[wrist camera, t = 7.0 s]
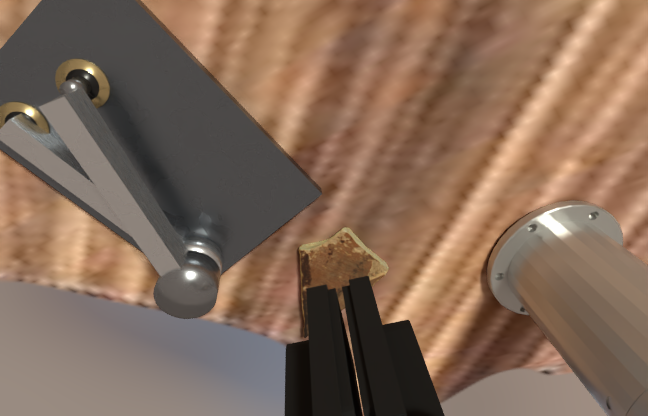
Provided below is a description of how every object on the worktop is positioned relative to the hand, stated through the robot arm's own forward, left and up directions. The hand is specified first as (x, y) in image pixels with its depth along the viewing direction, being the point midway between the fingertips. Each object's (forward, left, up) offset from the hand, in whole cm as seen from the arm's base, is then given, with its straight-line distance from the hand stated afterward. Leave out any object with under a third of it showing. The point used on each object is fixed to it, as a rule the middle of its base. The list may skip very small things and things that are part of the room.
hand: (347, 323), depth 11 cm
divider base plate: (+5, +10, -21) cm, 24 cm away
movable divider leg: (+3, +12, -20) cm, 24 cm away
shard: (-14, +7, -22) cm, 28 cm away
